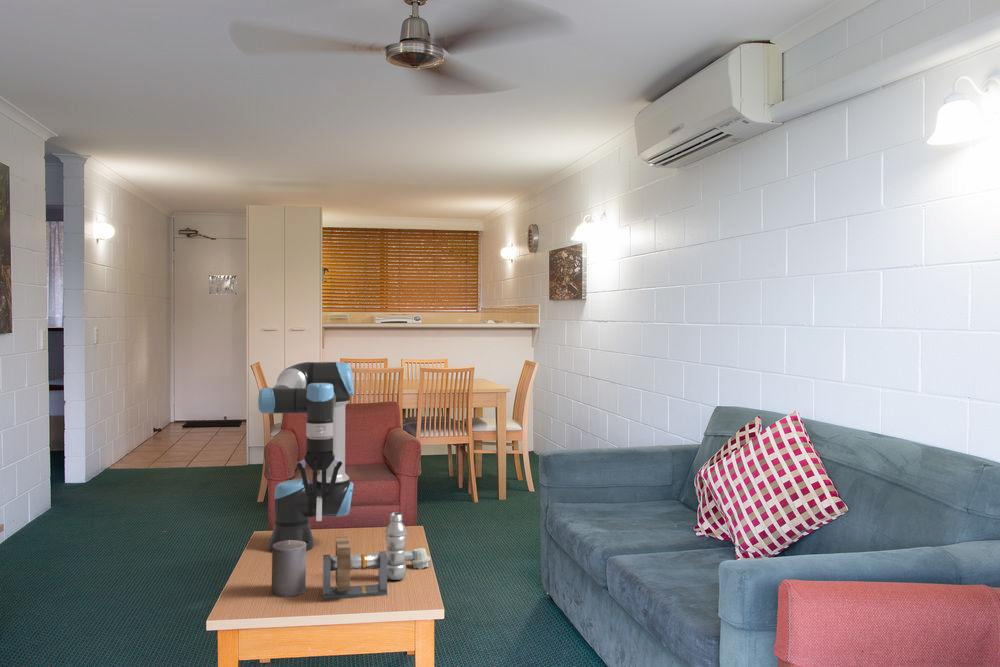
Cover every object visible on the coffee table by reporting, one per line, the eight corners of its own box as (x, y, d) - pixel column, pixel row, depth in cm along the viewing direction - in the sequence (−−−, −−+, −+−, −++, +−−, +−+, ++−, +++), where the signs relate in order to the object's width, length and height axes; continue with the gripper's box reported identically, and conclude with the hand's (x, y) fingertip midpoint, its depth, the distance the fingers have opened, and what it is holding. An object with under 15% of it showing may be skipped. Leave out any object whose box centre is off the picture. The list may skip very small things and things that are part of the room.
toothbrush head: (351, 553, 252) (428, 542, 254) (354, 574, 252) (431, 562, 254) (349, 558, 247) (428, 547, 248) (352, 579, 247) (430, 567, 249)
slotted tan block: (335, 577, 230) (335, 537, 230) (347, 576, 231) (347, 536, 231) (337, 591, 218) (337, 548, 218) (350, 590, 219) (350, 547, 219)
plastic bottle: (395, 574, 243) (396, 510, 243) (410, 579, 239) (411, 513, 239) (380, 579, 238) (380, 514, 238) (395, 584, 234) (395, 517, 234)
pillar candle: (264, 591, 226) (265, 540, 226) (293, 583, 234) (294, 533, 233) (283, 600, 220) (284, 547, 220) (312, 591, 227) (313, 540, 227)
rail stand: (322, 591, 227) (322, 553, 227) (384, 587, 231) (385, 549, 231) (323, 599, 220) (323, 560, 220) (387, 594, 225) (387, 556, 224)
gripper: (296, 439, 217) (295, 524, 217) (343, 438, 221) (342, 521, 221) (296, 436, 225) (295, 518, 225) (342, 435, 228) (341, 515, 228)
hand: (319, 519), depth 223 cm, fingers closed
